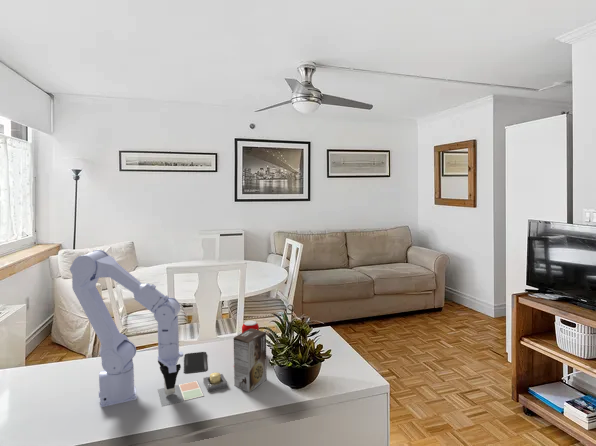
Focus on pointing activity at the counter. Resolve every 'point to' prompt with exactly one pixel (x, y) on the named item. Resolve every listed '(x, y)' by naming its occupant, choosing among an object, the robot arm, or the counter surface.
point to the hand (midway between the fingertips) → (169, 385)
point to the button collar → (215, 386)
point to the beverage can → (249, 325)
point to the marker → (168, 391)
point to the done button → (215, 378)
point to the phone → (195, 362)
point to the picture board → (181, 393)
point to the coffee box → (250, 359)
